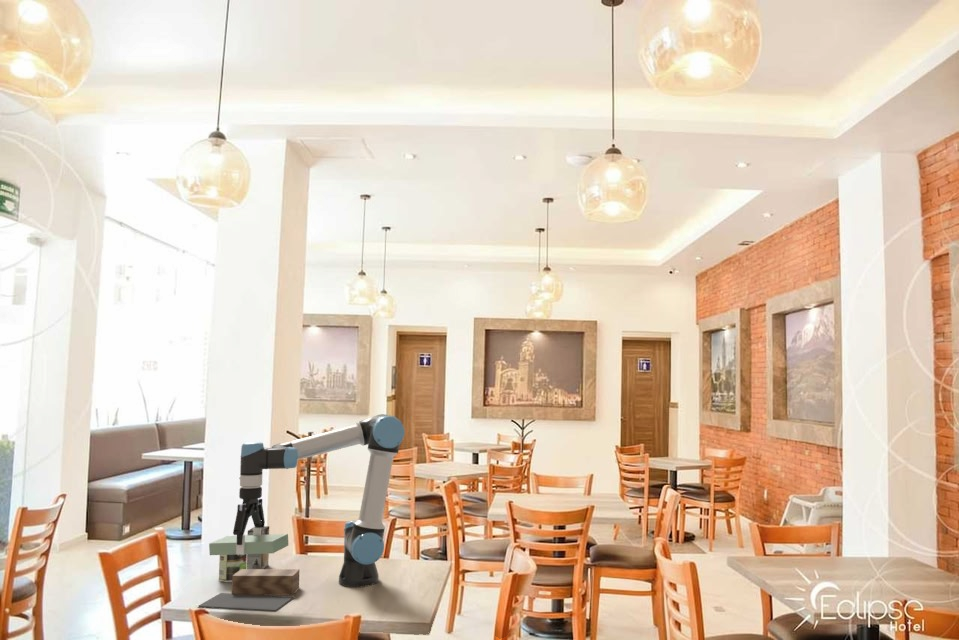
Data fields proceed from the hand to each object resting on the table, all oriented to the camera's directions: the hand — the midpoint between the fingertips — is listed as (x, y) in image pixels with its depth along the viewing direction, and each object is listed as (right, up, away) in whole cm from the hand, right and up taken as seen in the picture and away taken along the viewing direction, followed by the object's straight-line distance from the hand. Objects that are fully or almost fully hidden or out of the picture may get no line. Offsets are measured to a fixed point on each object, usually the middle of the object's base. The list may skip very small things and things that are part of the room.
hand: (248, 550), depth 243 cm
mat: (0, -18, -2) cm, 18 cm away
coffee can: (-16, -21, +28) cm, 38 cm away
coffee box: (-11, -22, +44) cm, 51 cm away
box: (+2, -19, +12) cm, 23 cm away
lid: (0, 0, 0) cm, 0 cm away
